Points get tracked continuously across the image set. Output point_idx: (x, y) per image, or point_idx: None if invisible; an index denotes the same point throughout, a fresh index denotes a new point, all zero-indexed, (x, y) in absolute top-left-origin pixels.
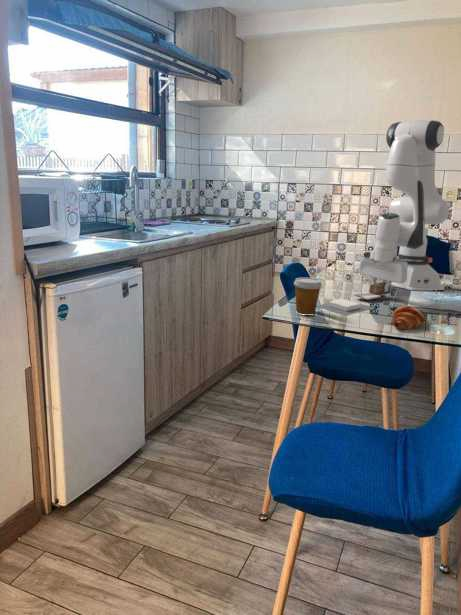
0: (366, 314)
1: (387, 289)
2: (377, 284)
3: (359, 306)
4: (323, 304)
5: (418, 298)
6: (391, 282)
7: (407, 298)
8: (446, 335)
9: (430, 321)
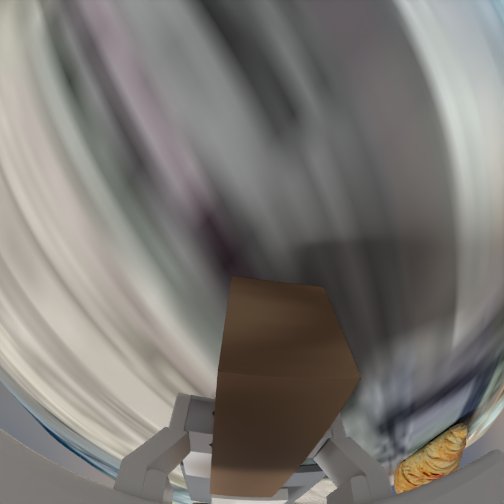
0: (319, 483)
1: (337, 422)
2: (242, 480)
3: (286, 493)
4: (191, 494)
5: (479, 76)
6: (385, 478)
7: (438, 136)
8: (480, 432)
9: (481, 409)
